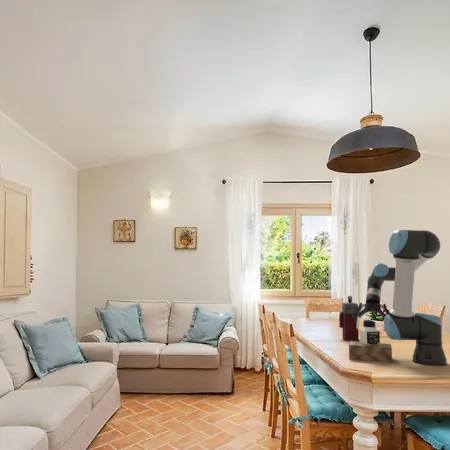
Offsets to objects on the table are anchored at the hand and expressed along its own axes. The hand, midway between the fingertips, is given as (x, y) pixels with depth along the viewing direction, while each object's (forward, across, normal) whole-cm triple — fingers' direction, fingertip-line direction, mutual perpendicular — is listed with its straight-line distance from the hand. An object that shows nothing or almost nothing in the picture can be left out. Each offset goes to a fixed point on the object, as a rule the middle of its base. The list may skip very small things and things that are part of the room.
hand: (370, 328), depth 226 cm
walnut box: (+15, 0, -4) cm, 16 cm away
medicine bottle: (+10, 0, 0) cm, 10 cm away
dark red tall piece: (-26, +19, -47) cm, 57 cm away
